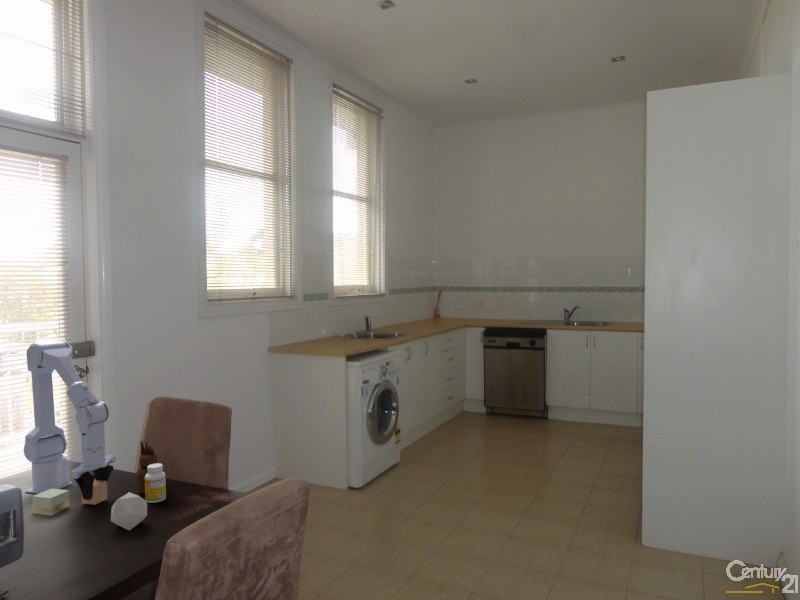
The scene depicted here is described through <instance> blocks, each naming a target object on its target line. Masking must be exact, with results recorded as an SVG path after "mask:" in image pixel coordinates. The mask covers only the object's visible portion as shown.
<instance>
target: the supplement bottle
mask: <svg viewBox="0 0 800 600" xmlns="http://www.w3.org/2000/svg"><path fill="white" fill-rule="evenodd" d="M163 465H164V464H162V463H159V462H157V463H156V464H151V465H148V466H147V472H148V473H147V474H146V475H145V493H144V500H145V501H147V504H148V503H149V504H154V503H160V502H163V501H165V500H166V498H167V488H166V487H167V486H166V485H167V483H166V472H164V471H163Z"/></svg>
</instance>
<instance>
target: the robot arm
mask: <svg viewBox="0 0 800 600" xmlns="http://www.w3.org/2000/svg"><path fill="white" fill-rule="evenodd" d="M71 347H72V346H71V345H70V343H69V342H68V341H67V340H63V339H62V340H59V341H47V342H34V343H30V345H29V346H28V348H27V350H26V364H27V365H26V366H27V371H29V372H30V373H31V385H32V387H31V389H32V400H33V401H32V403H33V415H34V428H33V429H32V430H30V431H29V432H28V433H27V434H26V435H25V437H24V446H23V454H24V457H25V458H26V460H27V461H28V462H31V477H32V478H31V481H32V482H31V483H32V484H31V485H32V486H31V488H27V489H26V490H24V493H30V494H31V493H32V494H39V493H41V492H44V491H46V490H49V489H51V488H52V489H63V488H65V487H67V486H70V485H72V481H70V479H73V480H74V481H75V482H76V484H77V485H78V487H79V489H80V492H82V495H83V498H84V499H85V500H91V499H92V492H93V483H94V480H101V481H107V483H109V479H110V477H111V474H112V472H113V471H114V465H111V464H114V463H116V455H111V454H110V455H106V444H105V443H106V440H105V423H106V422H107V421H108V420H109V417H110V412H109V407H108V405H107V404H106V403H105V401H101V399H97V397H96V395H95V394H94V392H93V390H92V389H91V387H90V386H89V384H88V383H87V382H86V381H82V380H81V378H80V376H79V374H78V372H77V370H76V368H75V366H74V363H73V361H72V357H73V350H72V348H71ZM54 371H56V373H57V374H58V376H59V378H61V380H62V381H63V382H64V384H65V385H66V386H67V390H66V395H67V397H68V399H69V401H70V402H71V404H72V406H73V407H74V409H75V411H76V414H75V421H76V423H77V425H78V430H79V433H81V434H80V437H81V438H80V439H81V442H80V443H81V444H80V445H81V464H79V465H78V466H77V467H75V468H74V469H72V470H70V462H69V460H68V458H67V457H66V456H65V455H63V454H64V453H66V451H67V448H68V441H67V439H66V436H65V431H64V429H63V428H62V427H59V426H57V424H56V418H55V403H54V401H55V400H54V386H53V372H54ZM91 472H93V474H91Z"/></svg>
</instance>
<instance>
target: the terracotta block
mask: <svg viewBox="0 0 800 600" xmlns="http://www.w3.org/2000/svg"><path fill="white" fill-rule="evenodd" d="M80 492H81V491H80ZM80 495H81V499H80V500H81V504H85V505H95V506H96V505H97V504H99V503H102V502H103V501H106V500H107V499H108V482H107V481H101V480H96V479H94V483H93V492H92V499H91V500H85V499H84V498H83V495H82V492H81V493H80Z"/></svg>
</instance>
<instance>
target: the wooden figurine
mask: <svg viewBox="0 0 800 600" xmlns="http://www.w3.org/2000/svg"><path fill="white" fill-rule="evenodd" d="M138 459H139V460H138V461H139V462H138V463H139V467H138V469H137V470H136V473H135V476H136V477H135V483H136V486H137V490H138V491H139V492H140V493H142V494H145V475H146V474H147V473H148V472H147V466H148V465H151V464H156V463H158V457H157V454H156V453H155V449H154V447H151V445H149V444H148V442H147V441H146V442H145V446H144V443H143V440H140V456H139V458H138Z"/></svg>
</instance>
